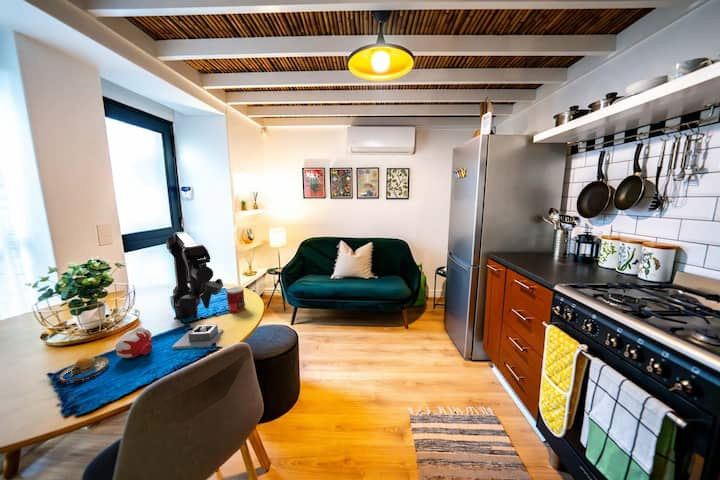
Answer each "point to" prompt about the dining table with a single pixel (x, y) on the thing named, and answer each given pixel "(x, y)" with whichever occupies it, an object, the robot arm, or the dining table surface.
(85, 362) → the ringed planet model
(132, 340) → the red white ovoid
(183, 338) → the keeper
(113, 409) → the dining table surface
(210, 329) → the link
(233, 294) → the canned food
